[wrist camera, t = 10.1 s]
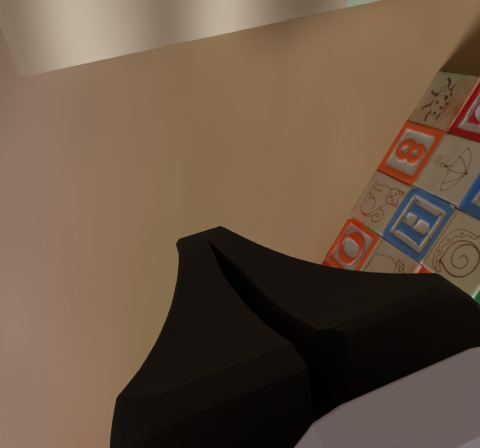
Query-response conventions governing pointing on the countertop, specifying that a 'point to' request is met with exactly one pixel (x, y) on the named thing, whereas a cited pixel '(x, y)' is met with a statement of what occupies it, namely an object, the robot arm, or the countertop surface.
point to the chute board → (131, 25)
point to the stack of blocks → (424, 194)
